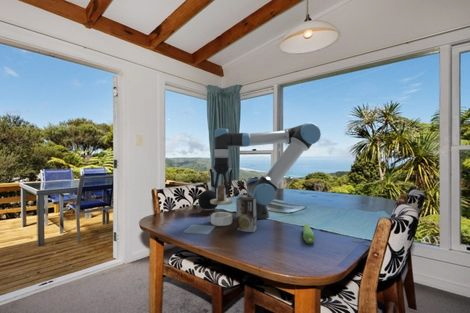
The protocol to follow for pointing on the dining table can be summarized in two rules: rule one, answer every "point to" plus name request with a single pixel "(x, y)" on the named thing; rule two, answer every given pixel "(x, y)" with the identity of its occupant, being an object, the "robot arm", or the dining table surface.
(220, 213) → the bowl
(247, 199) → the coffee box
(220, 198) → the lid
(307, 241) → the green oval lump
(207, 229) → the mat
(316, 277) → the dining table surface
